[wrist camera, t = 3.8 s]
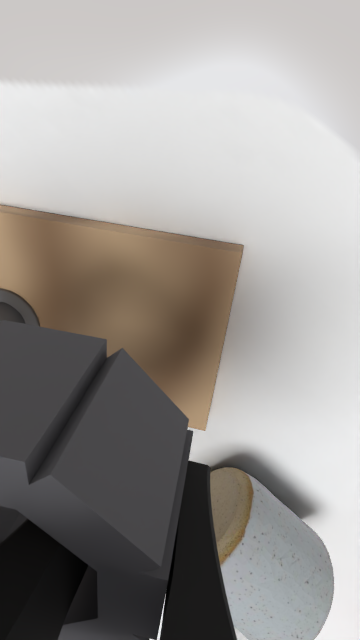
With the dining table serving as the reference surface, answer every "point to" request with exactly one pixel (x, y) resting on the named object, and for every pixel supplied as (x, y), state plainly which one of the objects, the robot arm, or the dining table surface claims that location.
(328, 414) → the dining table surface
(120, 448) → the dark grey octagonal ring
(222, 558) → the ceramic mug
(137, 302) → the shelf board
